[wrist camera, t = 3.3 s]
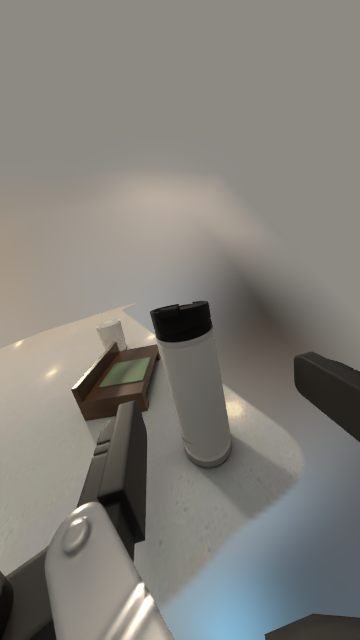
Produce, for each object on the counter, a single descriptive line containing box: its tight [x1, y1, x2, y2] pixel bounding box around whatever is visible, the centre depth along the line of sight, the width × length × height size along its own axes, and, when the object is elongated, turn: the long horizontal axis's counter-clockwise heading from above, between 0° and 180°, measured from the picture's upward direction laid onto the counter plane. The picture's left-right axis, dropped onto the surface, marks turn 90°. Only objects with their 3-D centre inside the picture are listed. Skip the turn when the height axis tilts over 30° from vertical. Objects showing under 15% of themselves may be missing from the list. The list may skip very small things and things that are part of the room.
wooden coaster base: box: [71, 342, 160, 420], centre depth 42 cm, size 12×20×7 cm, turn 179°
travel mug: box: [150, 301, 232, 467], centre depth 22 cm, size 6×7×20 cm
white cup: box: [96, 320, 126, 351], centre depth 62 cm, size 8×8×10 cm
